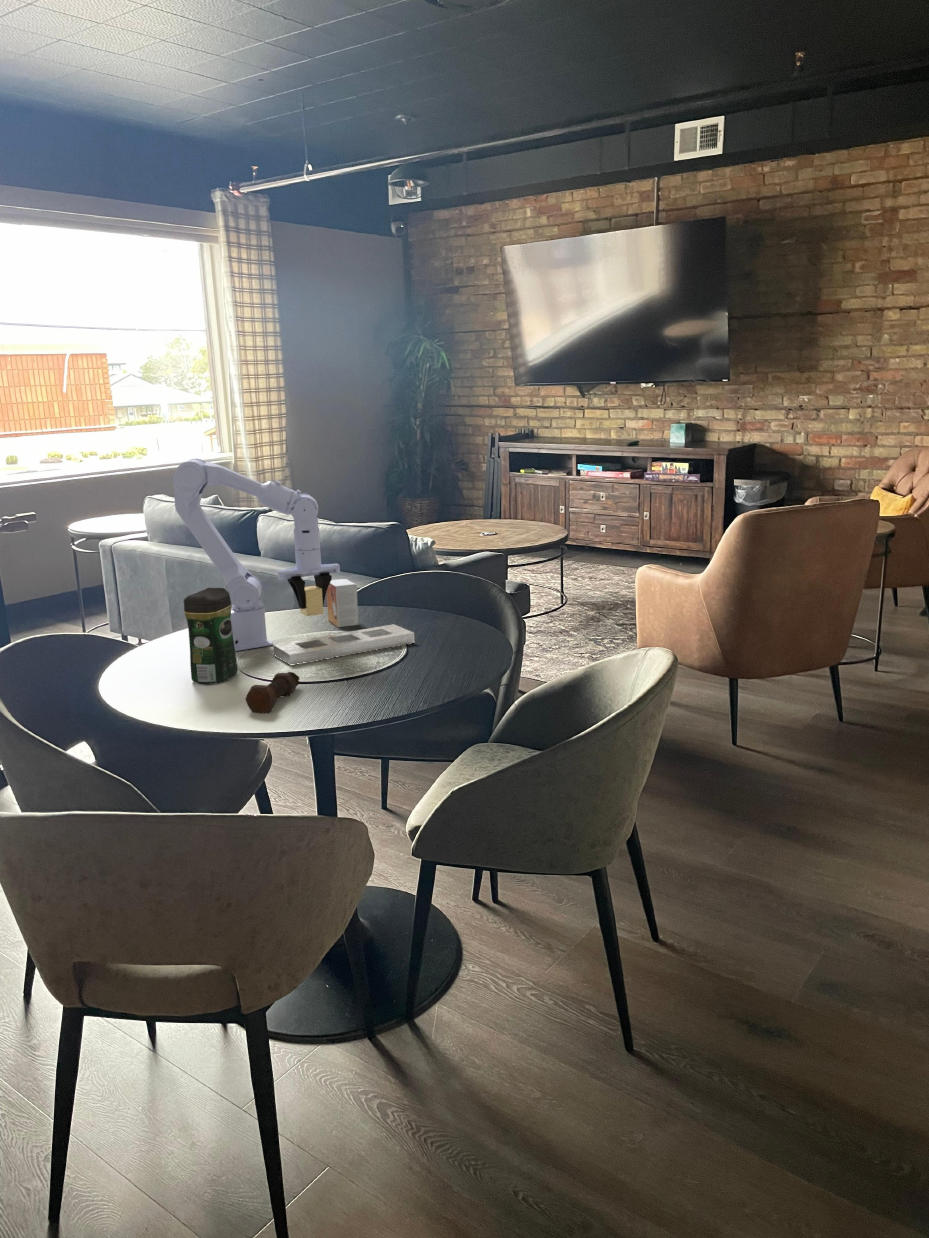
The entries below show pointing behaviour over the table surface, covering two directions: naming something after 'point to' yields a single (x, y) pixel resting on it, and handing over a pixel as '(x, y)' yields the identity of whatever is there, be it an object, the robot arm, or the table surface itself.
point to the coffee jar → (210, 636)
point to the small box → (342, 603)
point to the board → (343, 644)
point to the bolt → (271, 692)
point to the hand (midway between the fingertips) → (311, 606)
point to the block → (312, 601)
